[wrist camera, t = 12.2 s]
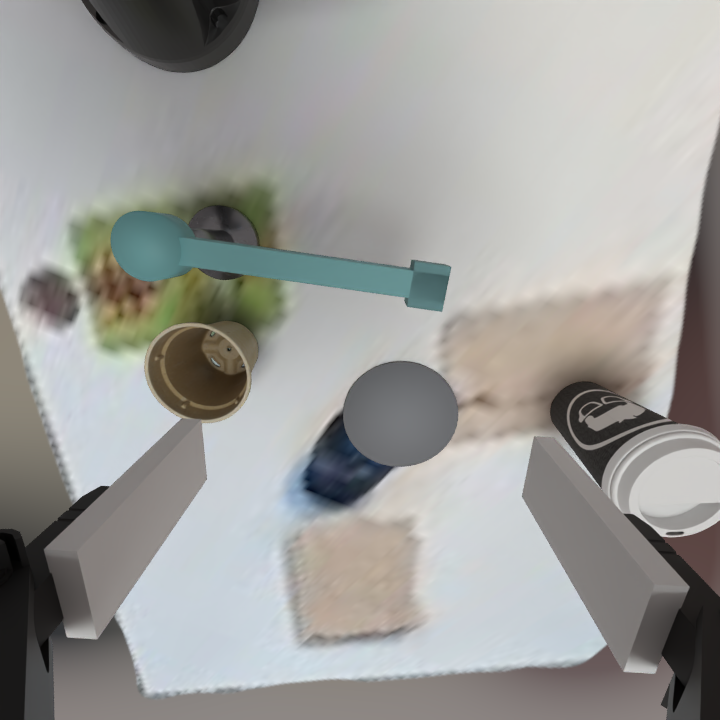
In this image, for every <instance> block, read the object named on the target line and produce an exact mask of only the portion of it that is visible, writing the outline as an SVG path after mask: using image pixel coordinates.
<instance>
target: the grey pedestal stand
mask: <svg viewBox="0 0 720 720" xmlns="http://www.w3.org/2000/svg"><path fill="white" fill-rule="evenodd" d="M188 226H189V227H190V228H191V230H192V231H193V233H194V235H195V237H197V238H204V239H211V240H218V241H225V242H232V243H239V244H246V245H253V246H260V244H259V237H258V234H257V231H256V229H255V227H254V225H253V224H252V222H251V221H250V220H249V219H248V218H247V217H246V216H245V215H244V214H242V213H241V212H239V211H238V210H236V209H233V208H230V207H226V206H209V207H206V208H204V209H202V210H200V211H199V212H198V213H197V214H195V215H194V217H193V218H192V219H191V221H190V223H189V225H188ZM199 269H200V270H201V271H202V272H203V273H205V274H206V275H208V276H210V277H213V278H216V279H220V280H230V279H235V278H238V277H241V276H243V275H244V274H237V273H230V272H223V271H216V270H209V269H202V268H199Z"/></svg>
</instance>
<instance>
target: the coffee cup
mask: <svg viewBox="0 0 720 720" xmlns="http://www.w3.org/2000/svg"><path fill="white" fill-rule="evenodd" d="M550 413H551V419H552V422H553V423H554V425H555V426H556V428H557V429H558V430H559V432H560V433H561V434H562V436H563V437H564V439H565V440H566V441H567V443H568V444H569V445H570V447H571V448H572V449H573V451H574V452H575V453H576V455H577V456H578V457H579V459H580V460H581V461H582V463H583V464H584V466H585V467H586V468H587V470H588V471H589V472H590V474H591V475H592V476H593V478H594V479H595V480H596V482H597V483H598V485H599V486H600V487H601V489H602V491H603V492H604V493H605V494H606V495H607V496H608V498H609V499H610V500H611V501H612V502H613V503H614V504H615V505H616V506H617V507H618V509H619V510H620V511H621V512H622V513H623V514H634V515H635V516H637V517H638V518H640V519H641V520H643V521H644V522H646V523H647V524H648V525H650V526H651V527H652V528H653V529H654V530H655V531H656V532H657V533H658V534H659V535H660V536H663V537H681V536H686V535H691V534H694V533H697V532H700V531H702V530H705V529H706V528H709V527H710V526H712V525H713V524H715V523H716V522H718V521H719V520H720V441H719V440H718V439H717V438H716V437H715V436H714V435H712V434H711V433H710V432H708V431H706V430H704V429H702V428H699V427H696V426H691V425H686V424H678V423H676V422H674V421H671V420H669V419H667V418H665V417H663V416H661V415H659V414H657V413H655V412H653V411H651V410H649V409H647V408H644V407H642V406H640V405H638V404H636V403H634V402H632V401H630V400H628V399H626V398H624V397H622V396H620V395H618V394H616V393H614V392H612V391H610V390H608V389H606V388H603V387H601V386H599V385H597V384H595V383H591V382H579V383H575V384H572V385H570V386H568V387H566V388H564V389H563V390H562V391H561V392H560V393H559V394H558V395H557V396H556V397H555V399H554V401H553V403H552V406H551V412H550Z"/></svg>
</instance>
